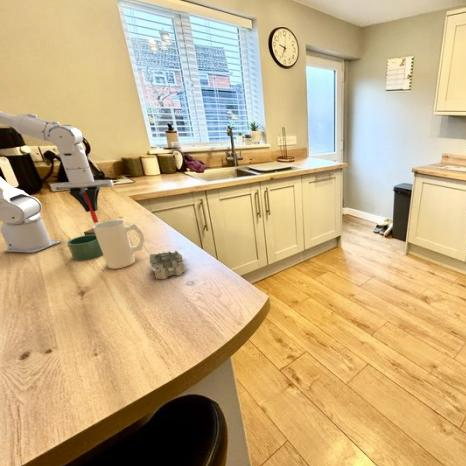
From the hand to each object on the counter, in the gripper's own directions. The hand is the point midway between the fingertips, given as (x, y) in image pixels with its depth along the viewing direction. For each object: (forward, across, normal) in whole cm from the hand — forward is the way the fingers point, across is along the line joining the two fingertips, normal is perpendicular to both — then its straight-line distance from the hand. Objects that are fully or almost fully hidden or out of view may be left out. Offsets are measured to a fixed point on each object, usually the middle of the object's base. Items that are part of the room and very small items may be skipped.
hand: (92, 210), depth 92 cm
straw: (+4, 0, 0) cm, 4 cm away
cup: (+10, 0, +12) cm, 16 cm away
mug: (+11, -11, +22) cm, 27 cm away
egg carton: (+11, -22, +32) cm, 40 cm away
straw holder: (+10, 0, -3) cm, 11 cm away
